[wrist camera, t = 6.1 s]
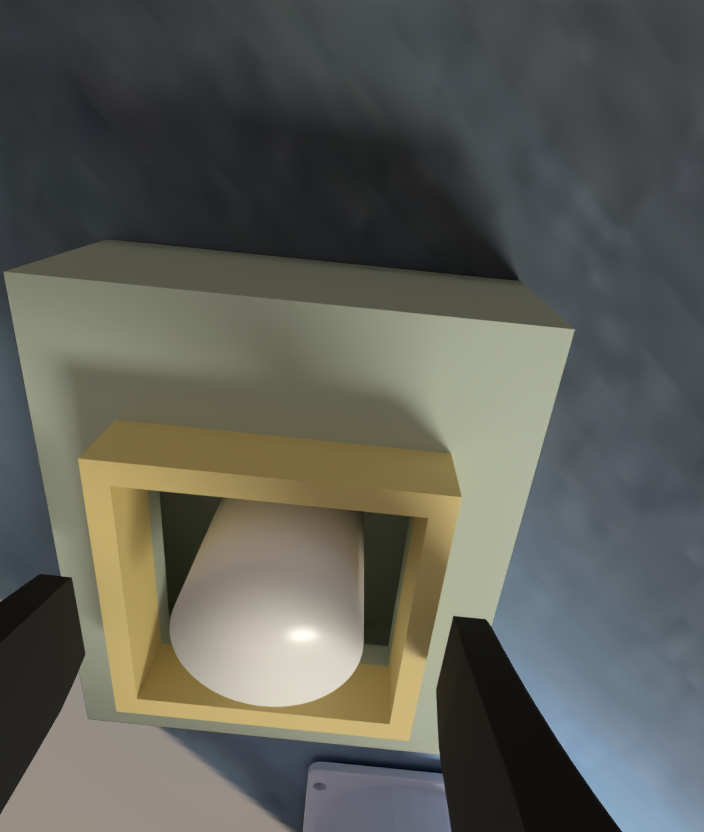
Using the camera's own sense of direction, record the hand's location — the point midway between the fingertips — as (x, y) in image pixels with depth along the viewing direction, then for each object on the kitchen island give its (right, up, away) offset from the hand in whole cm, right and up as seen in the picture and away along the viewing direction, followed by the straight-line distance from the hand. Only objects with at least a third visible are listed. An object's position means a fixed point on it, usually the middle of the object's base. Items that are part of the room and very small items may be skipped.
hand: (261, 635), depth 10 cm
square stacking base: (0, +3, +5) cm, 6 cm away
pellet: (0, +2, +5) cm, 5 cm away
